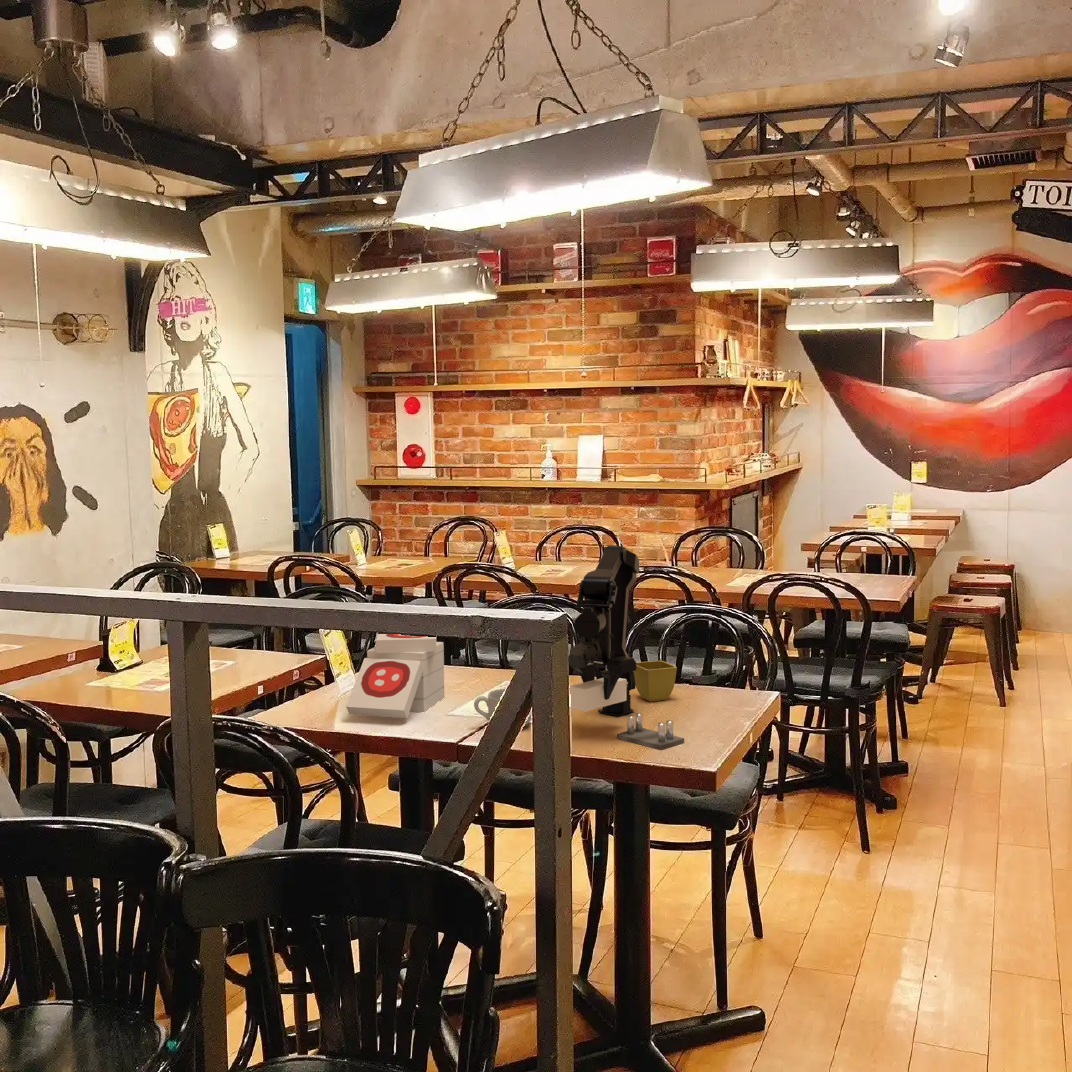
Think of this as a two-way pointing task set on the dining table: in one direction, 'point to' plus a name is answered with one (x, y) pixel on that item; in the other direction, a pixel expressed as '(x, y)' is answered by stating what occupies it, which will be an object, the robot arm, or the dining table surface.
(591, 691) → the block
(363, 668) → the stacked boxes
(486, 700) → the teacup
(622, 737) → the peg stand
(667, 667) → the flower pot
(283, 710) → the dining table surface
